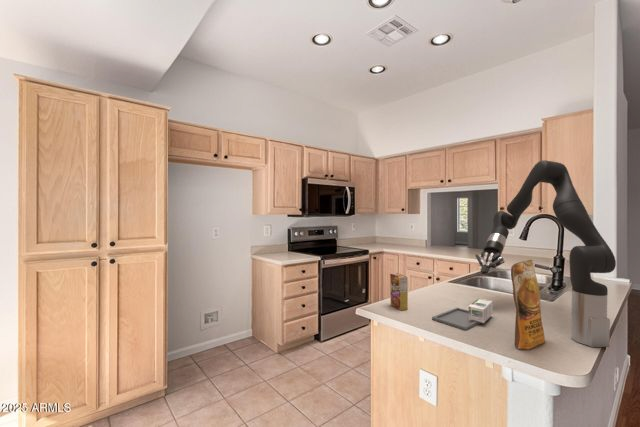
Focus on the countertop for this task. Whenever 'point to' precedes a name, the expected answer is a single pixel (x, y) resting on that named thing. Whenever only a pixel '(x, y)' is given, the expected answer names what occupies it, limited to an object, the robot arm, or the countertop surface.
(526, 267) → the pancake mix bag
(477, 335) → the countertop surface
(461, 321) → the tray
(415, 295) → the countertop surface
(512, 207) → the robot arm
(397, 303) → the candy box
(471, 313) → the syrup box
